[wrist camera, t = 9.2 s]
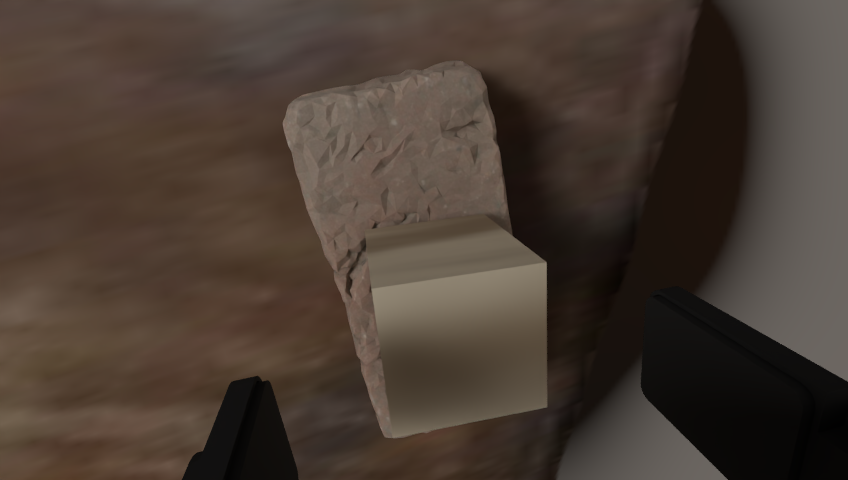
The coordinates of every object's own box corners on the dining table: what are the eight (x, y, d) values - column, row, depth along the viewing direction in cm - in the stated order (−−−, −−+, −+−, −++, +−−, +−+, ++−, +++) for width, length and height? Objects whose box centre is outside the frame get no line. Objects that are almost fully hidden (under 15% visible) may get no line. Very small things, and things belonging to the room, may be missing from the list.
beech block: (364, 229, 17) (371, 288, 11) (483, 213, 18) (546, 262, 12) (379, 338, 19) (392, 437, 13) (488, 319, 19) (547, 407, 14)
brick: (285, 101, 19) (265, 100, 15) (459, 59, 20) (490, 46, 16) (379, 390, 25) (386, 451, 20) (514, 348, 25) (548, 399, 21)
